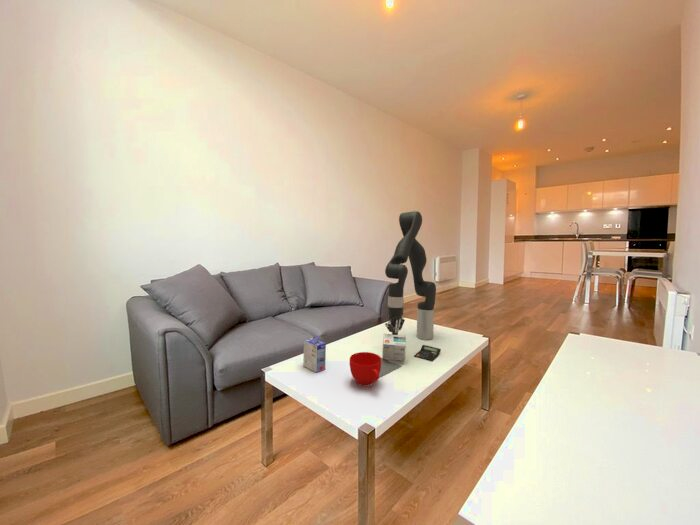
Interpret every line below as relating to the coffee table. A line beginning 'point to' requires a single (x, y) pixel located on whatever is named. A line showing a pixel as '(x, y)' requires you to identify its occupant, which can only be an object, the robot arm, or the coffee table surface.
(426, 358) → the calculator
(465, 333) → the coffee table surface
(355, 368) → the ceramic cup
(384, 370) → the mat
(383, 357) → the light bulb box
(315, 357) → the ink cartridge box
